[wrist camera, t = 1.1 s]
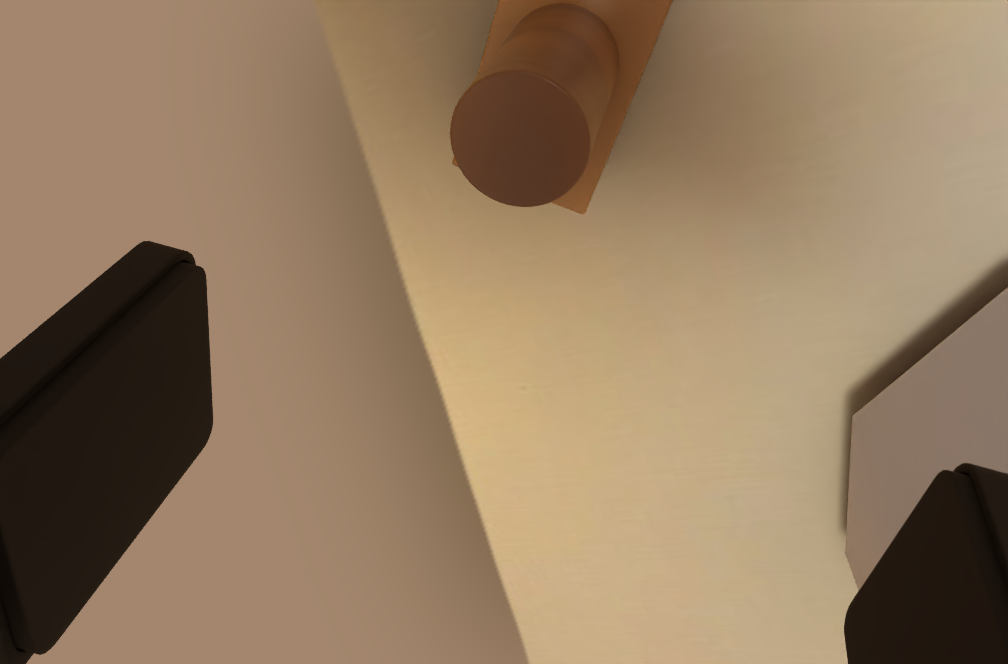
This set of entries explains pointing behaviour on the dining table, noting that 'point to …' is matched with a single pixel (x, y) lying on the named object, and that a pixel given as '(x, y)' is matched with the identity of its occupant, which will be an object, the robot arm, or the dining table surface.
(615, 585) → the dining table surface
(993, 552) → the robot arm
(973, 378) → the bottle
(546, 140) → the stamp
